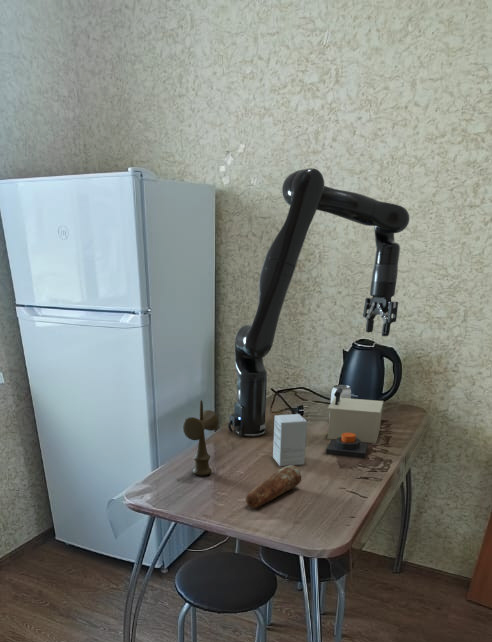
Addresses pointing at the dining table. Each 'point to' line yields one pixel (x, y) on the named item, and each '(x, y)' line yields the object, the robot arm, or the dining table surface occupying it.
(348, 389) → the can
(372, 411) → the box lid
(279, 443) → the white packaging box
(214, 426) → the kendama
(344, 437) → the release button
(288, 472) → the bread
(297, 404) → the dining table surface
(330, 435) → the hinged lid box
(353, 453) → the button block
